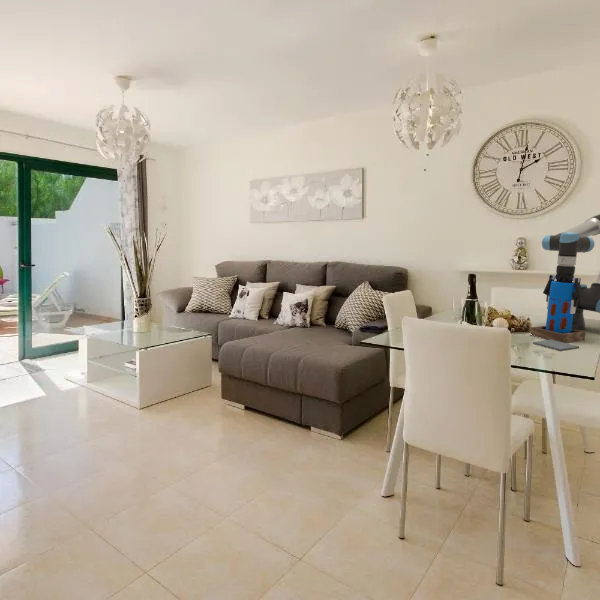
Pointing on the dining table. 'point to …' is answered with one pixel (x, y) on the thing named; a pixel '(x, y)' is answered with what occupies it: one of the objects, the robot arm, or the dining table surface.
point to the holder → (558, 334)
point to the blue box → (560, 307)
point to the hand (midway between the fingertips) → (560, 311)
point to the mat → (556, 345)
